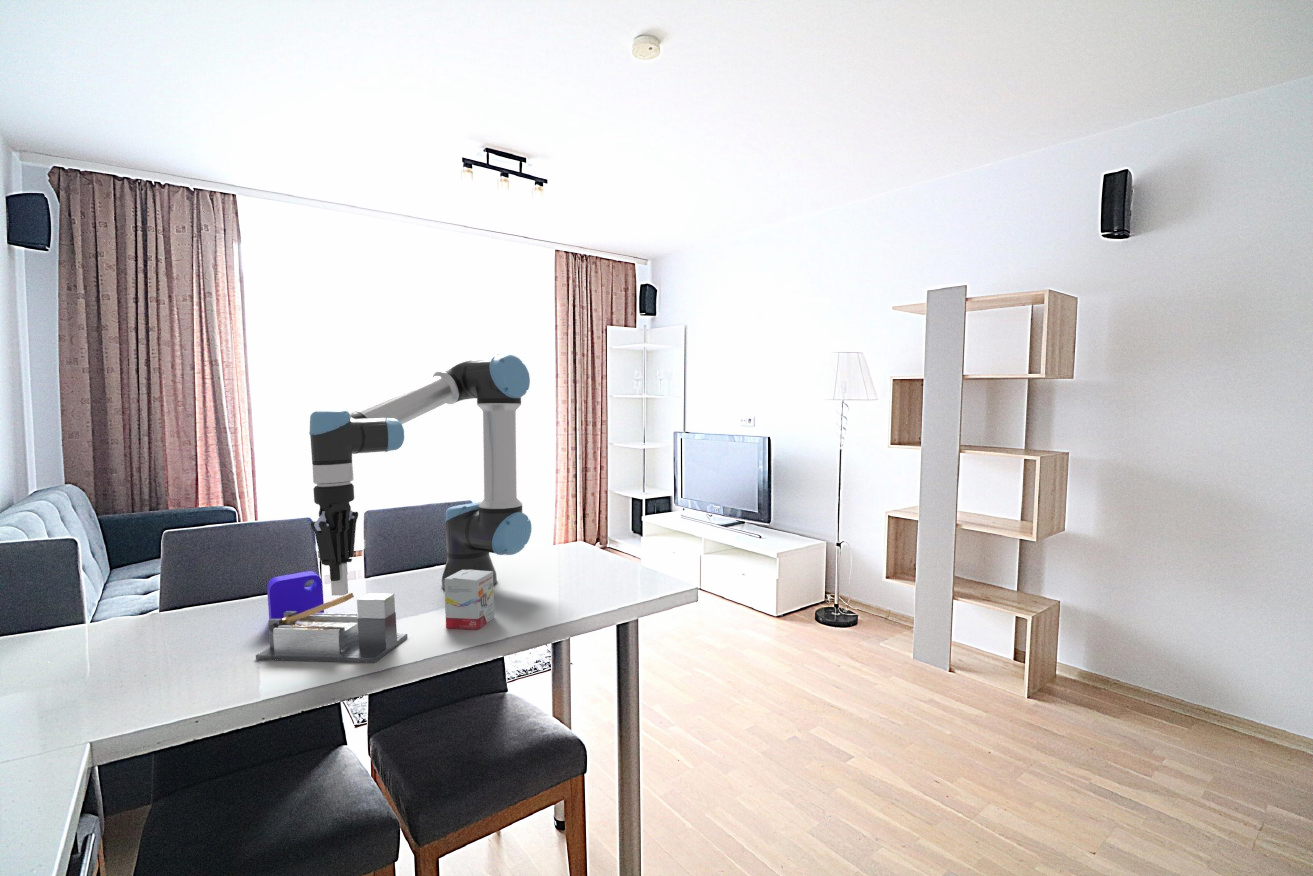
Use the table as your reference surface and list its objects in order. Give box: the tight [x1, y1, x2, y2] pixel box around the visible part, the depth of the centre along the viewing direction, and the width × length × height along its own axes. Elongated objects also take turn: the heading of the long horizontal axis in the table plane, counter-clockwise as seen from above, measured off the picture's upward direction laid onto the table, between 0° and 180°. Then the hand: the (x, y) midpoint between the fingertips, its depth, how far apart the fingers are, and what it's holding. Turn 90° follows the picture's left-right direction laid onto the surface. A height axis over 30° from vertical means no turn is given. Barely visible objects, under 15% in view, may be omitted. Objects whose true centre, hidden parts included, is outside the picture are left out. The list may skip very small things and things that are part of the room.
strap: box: [282, 592, 355, 625], centre depth 133 cm, size 3×18×2 cm, turn 84°
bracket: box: [266, 570, 325, 621], centre depth 153 cm, size 18×11×12 cm, turn 39°
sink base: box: [255, 611, 408, 664], centre depth 132 cm, size 13×26×7 cm, turn 84°
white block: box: [356, 592, 396, 619], centre depth 131 cm, size 4×6×4 cm, turn 84°
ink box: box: [444, 570, 495, 631], centre depth 146 cm, size 9×9×12 cm
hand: (340, 594), depth 131 cm, fingers closed
